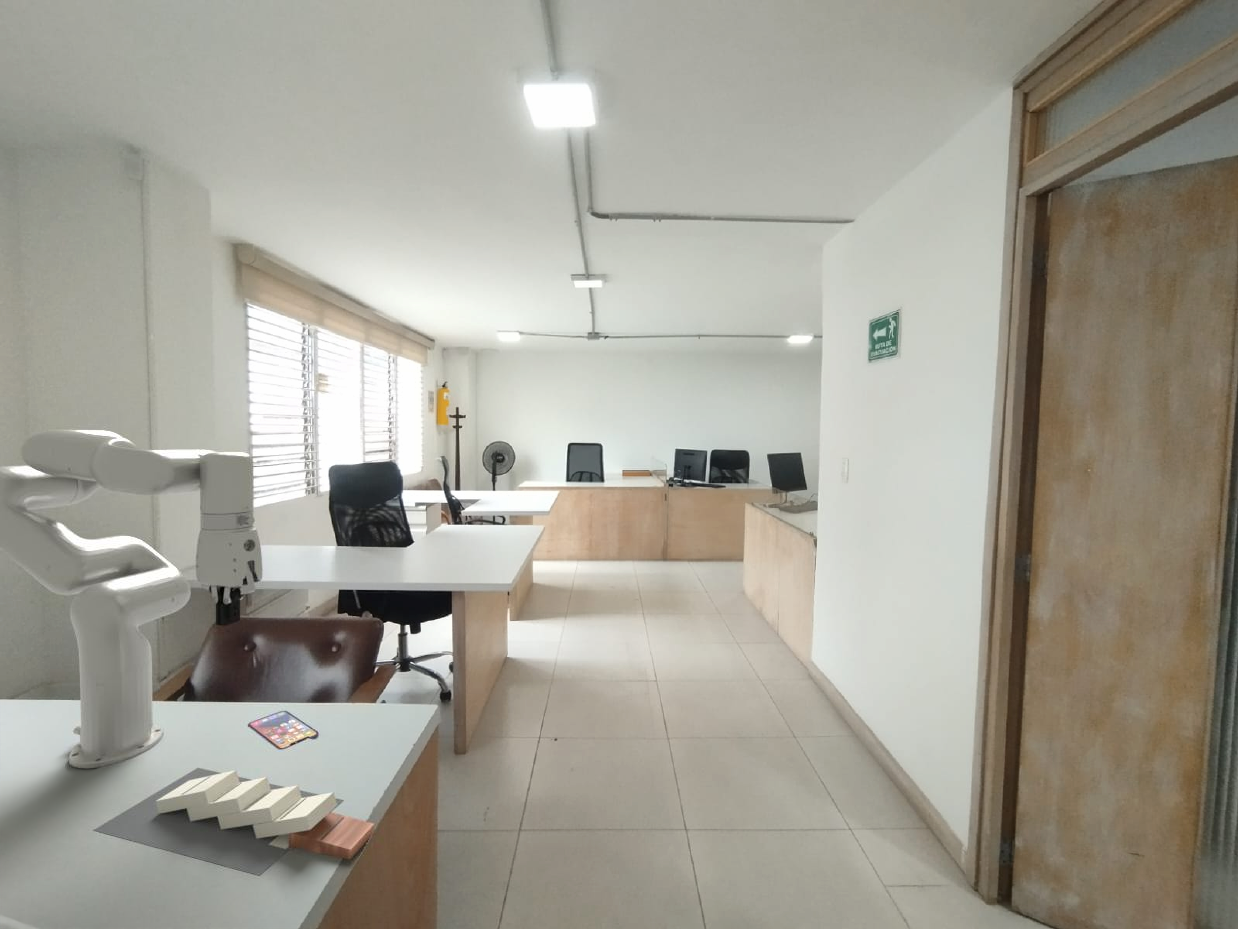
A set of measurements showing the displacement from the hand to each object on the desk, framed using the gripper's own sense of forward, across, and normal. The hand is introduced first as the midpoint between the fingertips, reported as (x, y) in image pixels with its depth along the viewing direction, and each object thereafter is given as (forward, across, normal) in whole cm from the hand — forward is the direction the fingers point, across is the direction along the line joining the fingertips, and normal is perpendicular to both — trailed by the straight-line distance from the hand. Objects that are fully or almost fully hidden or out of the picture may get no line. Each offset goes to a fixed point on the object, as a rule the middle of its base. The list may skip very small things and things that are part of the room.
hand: (228, 623), depth 93 cm
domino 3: (+24, -15, +12) cm, 30 cm away
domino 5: (+24, -27, +12) cm, 38 cm away
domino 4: (+24, -22, +12) cm, 34 cm away
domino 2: (+24, -9, +12) cm, 28 cm away
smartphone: (+26, -2, -10) cm, 28 cm away
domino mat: (+25, -13, +12) cm, 31 cm away
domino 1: (+24, -3, +12) cm, 27 cm away
